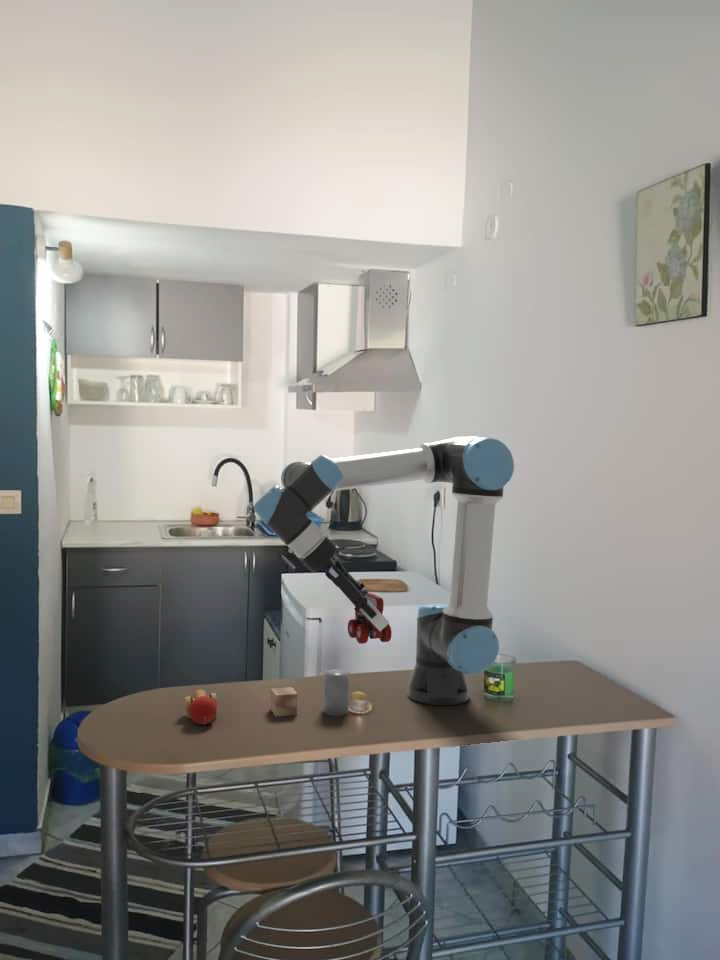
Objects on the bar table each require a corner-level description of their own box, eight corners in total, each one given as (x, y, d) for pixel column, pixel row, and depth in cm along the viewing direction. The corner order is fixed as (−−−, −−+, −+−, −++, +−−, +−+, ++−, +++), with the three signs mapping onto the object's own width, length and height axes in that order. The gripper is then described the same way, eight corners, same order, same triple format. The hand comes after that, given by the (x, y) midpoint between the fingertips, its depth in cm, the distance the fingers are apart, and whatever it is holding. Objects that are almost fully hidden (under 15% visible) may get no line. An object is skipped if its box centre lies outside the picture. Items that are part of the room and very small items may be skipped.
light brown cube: (291, 708, 195) (291, 687, 195) (296, 715, 191) (297, 693, 190) (270, 709, 194) (270, 688, 194) (275, 717, 189) (275, 695, 189)
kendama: (179, 708, 196) (182, 724, 179) (185, 681, 197) (188, 694, 180) (212, 713, 198) (218, 729, 181) (217, 686, 199) (224, 699, 181)
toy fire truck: (372, 631, 189) (374, 586, 188) (394, 645, 177) (396, 597, 177) (343, 633, 186) (345, 587, 186) (364, 647, 175) (365, 598, 174)
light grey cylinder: (347, 707, 197) (349, 669, 197) (349, 715, 191) (350, 677, 191) (322, 706, 197) (323, 669, 196) (322, 715, 191) (324, 676, 190)
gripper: (300, 551, 191) (364, 619, 193) (300, 568, 168) (374, 646, 170) (324, 529, 191) (388, 597, 193) (327, 543, 168) (401, 620, 170)
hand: (381, 620), depth 181 cm, fingers closed on toy fire truck, 11 cm apart
